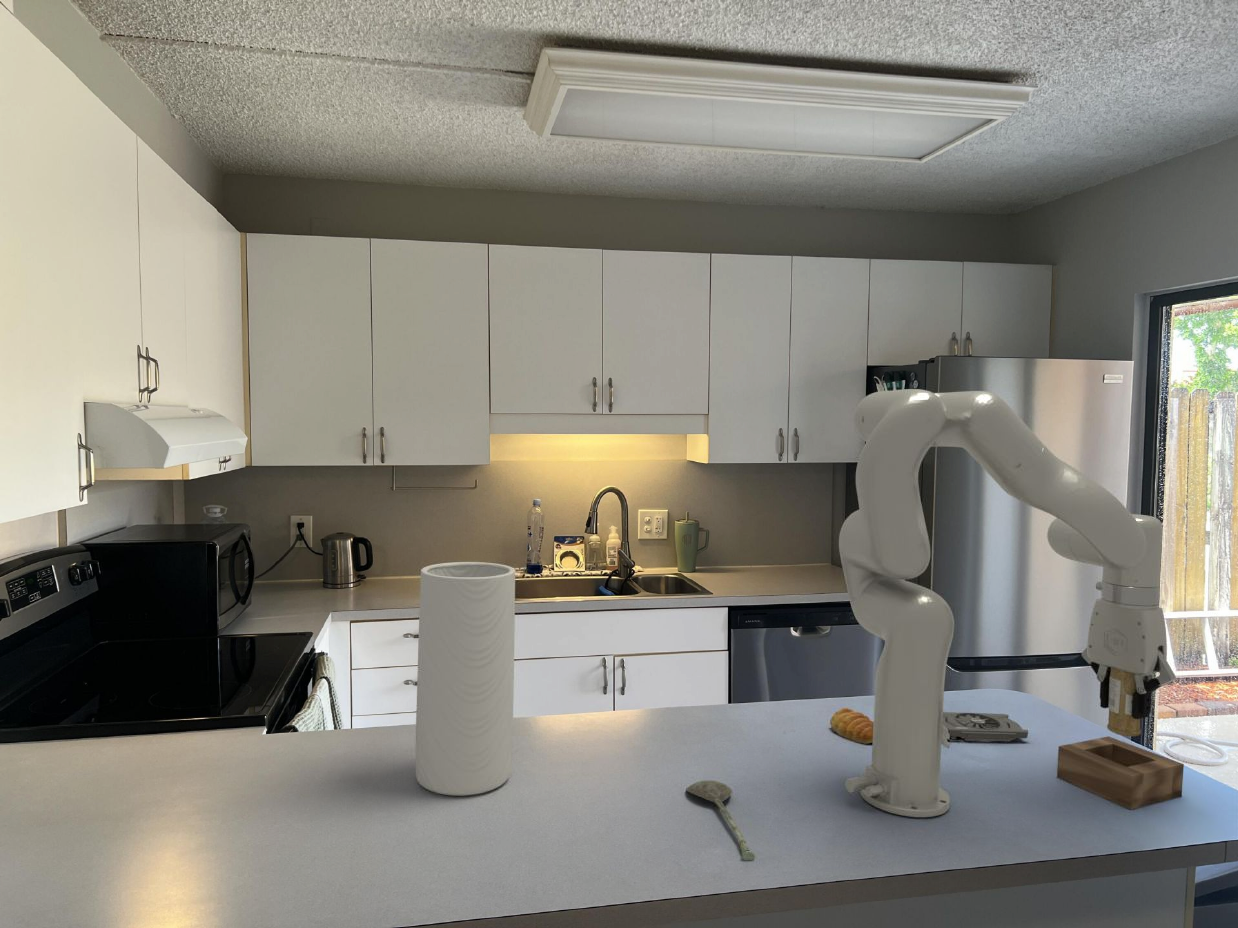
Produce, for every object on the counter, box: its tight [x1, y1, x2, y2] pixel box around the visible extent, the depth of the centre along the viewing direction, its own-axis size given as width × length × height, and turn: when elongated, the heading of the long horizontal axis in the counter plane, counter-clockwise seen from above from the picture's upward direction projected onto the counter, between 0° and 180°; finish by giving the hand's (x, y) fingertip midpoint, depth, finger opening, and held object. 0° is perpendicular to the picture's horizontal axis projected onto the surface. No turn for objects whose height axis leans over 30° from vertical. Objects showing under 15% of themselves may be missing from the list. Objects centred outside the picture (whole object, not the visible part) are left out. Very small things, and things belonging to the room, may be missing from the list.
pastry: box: [829, 707, 874, 745], centre depth 148 cm, size 9×7×4 cm
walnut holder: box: [1056, 736, 1185, 811], centre depth 130 cm, size 12×12×5 cm
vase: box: [414, 561, 516, 797], centre depth 125 cm, size 14×14×32 cm
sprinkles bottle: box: [1106, 668, 1142, 737], centre depth 129 cm, size 5×5×14 cm
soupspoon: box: [685, 780, 756, 861], centre depth 115 cm, size 22×3×7 cm
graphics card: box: [941, 711, 1029, 749], centre depth 150 cm, size 17×4×12 cm
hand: (1124, 710), depth 130 cm, fingers closed on sprinkles bottle, 4 cm apart
